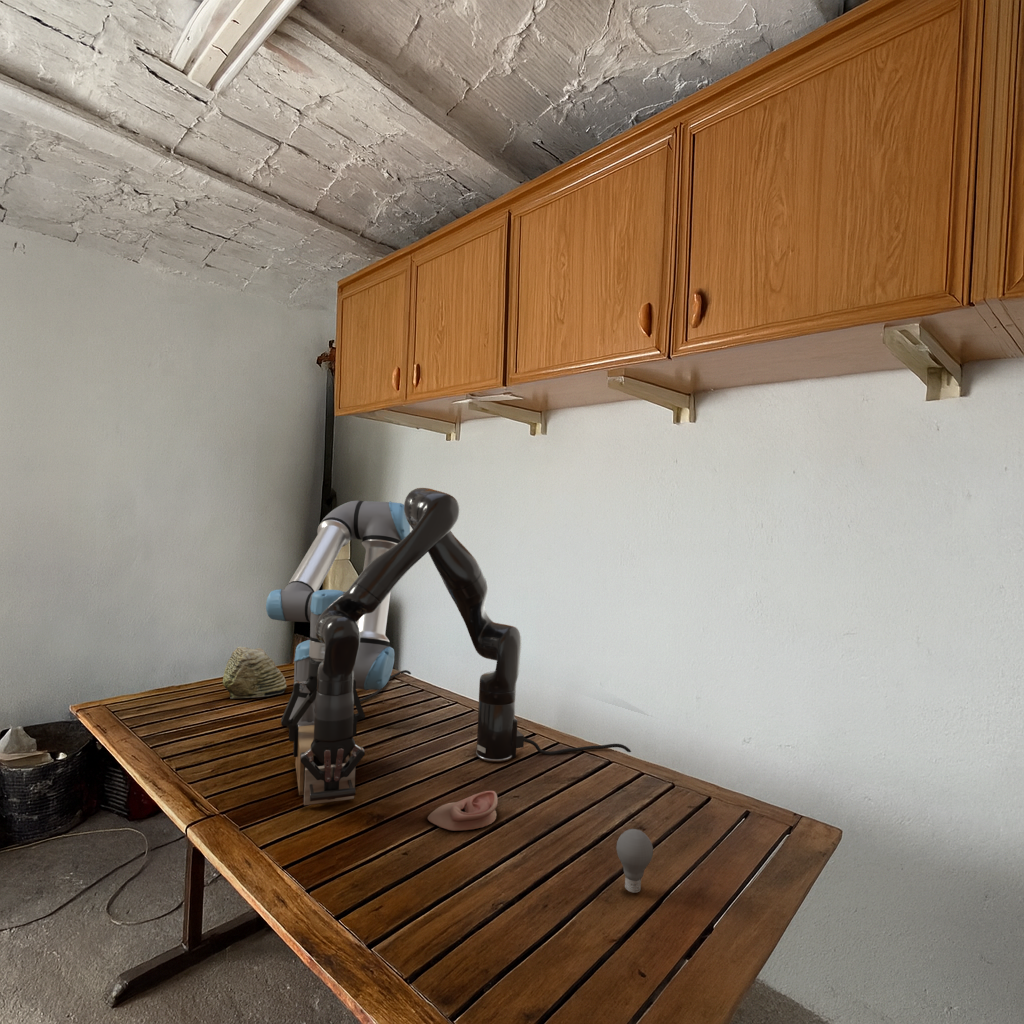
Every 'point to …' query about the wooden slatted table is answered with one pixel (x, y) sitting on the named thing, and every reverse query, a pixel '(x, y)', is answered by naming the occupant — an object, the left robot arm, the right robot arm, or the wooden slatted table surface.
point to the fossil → (252, 674)
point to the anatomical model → (467, 812)
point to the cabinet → (304, 745)
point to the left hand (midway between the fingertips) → (322, 752)
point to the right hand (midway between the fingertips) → (331, 797)
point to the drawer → (316, 787)
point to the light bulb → (634, 857)
